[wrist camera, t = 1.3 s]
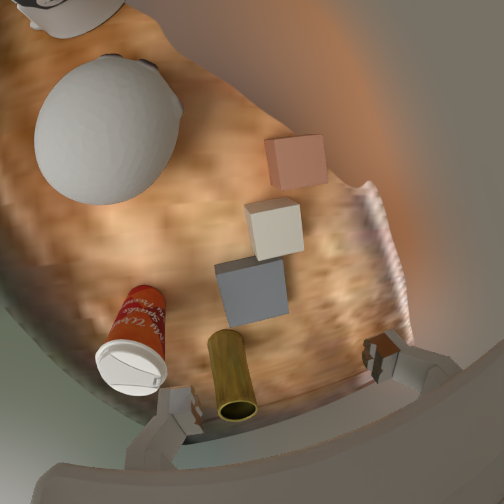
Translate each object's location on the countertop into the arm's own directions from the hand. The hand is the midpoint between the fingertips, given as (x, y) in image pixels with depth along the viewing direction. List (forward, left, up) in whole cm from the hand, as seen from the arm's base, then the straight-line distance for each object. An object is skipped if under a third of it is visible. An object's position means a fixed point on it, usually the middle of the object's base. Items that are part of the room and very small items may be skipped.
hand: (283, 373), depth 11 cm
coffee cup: (+10, -14, -27) cm, 32 cm away
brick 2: (+2, +6, -27) cm, 28 cm away
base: (+11, +2, -27) cm, 29 cm away
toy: (-14, -10, -27) cm, 32 cm away
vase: (+21, -4, -27) cm, 35 cm away
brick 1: (-6, +10, -27) cm, 29 cm away
